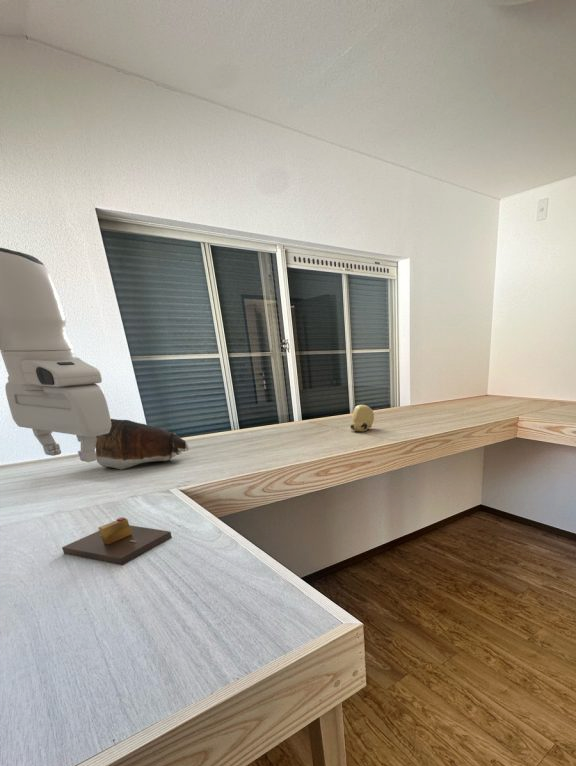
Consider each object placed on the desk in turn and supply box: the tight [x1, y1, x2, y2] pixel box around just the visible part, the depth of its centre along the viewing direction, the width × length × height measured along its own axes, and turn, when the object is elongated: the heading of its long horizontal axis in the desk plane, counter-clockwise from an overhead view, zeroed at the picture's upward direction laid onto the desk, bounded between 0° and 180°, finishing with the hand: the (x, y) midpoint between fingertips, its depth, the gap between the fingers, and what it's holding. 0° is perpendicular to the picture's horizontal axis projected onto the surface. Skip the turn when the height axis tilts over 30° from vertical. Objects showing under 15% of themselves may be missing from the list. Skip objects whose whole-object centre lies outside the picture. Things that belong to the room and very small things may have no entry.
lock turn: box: [98, 516, 132, 545], centre depth 76 cm, size 5×1×3 cm, turn 155°
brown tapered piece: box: [95, 418, 190, 470], centre depth 133 cm, size 15×15×25 cm
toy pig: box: [350, 404, 375, 433], centre depth 176 cm, size 10×12×11 cm
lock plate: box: [61, 524, 173, 566], centre depth 77 cm, size 14×11×3 cm
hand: (71, 457), depth 69 cm, fingers open, 8 cm apart
